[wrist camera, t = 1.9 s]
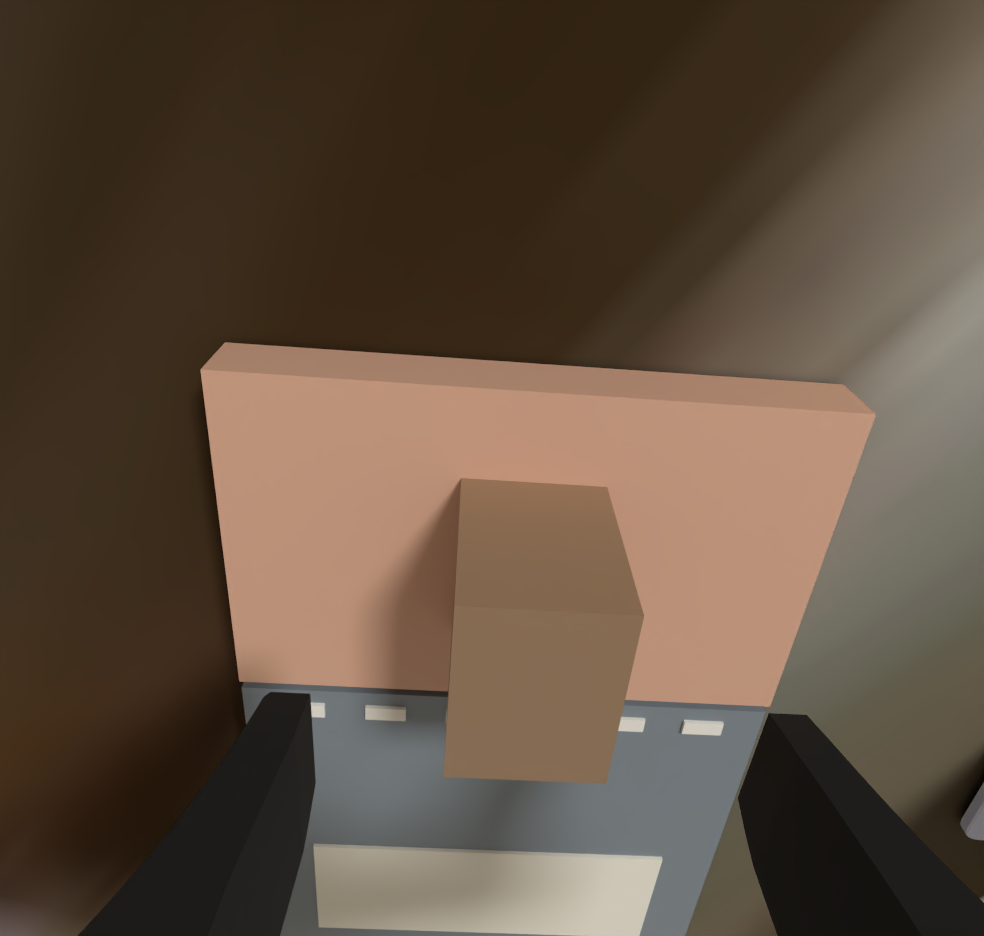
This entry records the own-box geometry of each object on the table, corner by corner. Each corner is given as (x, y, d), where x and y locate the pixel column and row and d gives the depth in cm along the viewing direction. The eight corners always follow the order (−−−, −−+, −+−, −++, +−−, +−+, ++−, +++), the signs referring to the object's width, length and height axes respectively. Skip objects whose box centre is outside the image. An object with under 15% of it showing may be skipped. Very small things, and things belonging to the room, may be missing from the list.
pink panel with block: (842, 384, 16) (1001, 529, 11) (750, 663, 20) (837, 860, 15) (225, 342, 15) (104, 475, 10) (256, 638, 19) (178, 835, 14)
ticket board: (746, 668, 20) (767, 715, 18) (662, 923, 26) (673, 973, 24) (257, 644, 19) (240, 690, 18) (285, 910, 25) (274, 961, 24)
